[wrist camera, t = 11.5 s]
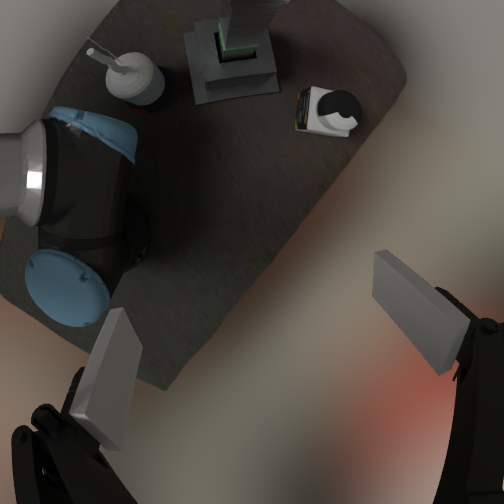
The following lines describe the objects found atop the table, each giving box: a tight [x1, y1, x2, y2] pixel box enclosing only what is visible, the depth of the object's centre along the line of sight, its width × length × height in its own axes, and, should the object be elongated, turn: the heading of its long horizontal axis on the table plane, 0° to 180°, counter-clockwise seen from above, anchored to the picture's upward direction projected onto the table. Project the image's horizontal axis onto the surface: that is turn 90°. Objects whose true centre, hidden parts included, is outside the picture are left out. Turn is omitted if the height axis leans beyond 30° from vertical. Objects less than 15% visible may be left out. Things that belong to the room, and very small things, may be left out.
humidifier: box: [87, 37, 172, 113], centre depth 27 cm, size 8×8×25 cm
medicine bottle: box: [295, 87, 361, 137], centre depth 39 cm, size 7×7×12 cm
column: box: [218, 0, 290, 62], centre depth 22 cm, size 5×5×21 cm
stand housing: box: [183, 18, 280, 106], centre depth 34 cm, size 14×14×9 cm
